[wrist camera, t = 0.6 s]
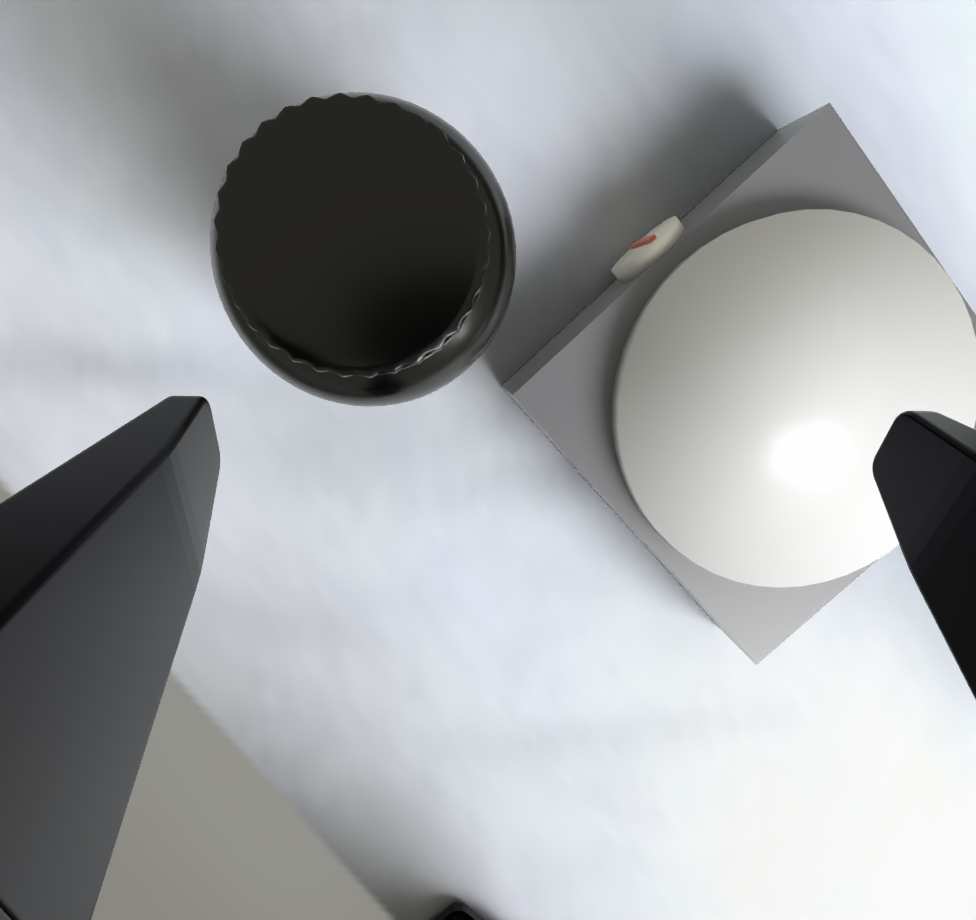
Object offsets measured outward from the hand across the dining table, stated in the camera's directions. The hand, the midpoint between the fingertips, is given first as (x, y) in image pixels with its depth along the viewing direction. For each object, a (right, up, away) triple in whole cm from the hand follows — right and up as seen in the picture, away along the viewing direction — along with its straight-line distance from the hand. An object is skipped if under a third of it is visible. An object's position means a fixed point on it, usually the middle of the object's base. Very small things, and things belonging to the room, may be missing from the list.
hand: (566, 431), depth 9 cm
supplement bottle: (-5, +6, +15) cm, 17 cm away
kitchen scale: (+9, +2, +17) cm, 19 cm away
